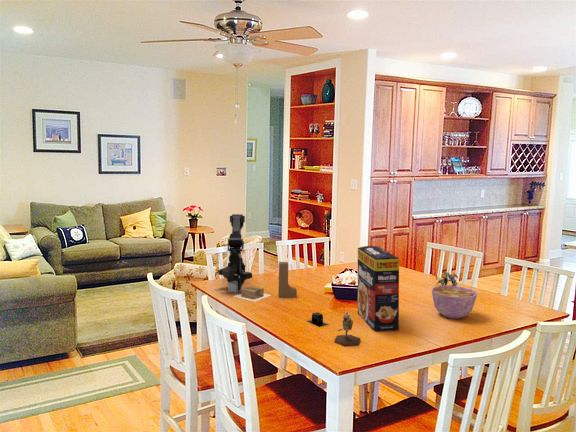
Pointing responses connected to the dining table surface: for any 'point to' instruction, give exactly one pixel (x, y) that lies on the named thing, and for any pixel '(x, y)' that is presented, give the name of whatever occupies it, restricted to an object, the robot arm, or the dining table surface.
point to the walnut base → (252, 292)
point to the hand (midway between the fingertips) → (235, 289)
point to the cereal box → (378, 288)
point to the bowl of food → (453, 300)
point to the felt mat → (251, 299)
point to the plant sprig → (447, 279)
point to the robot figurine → (346, 339)
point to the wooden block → (285, 283)
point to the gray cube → (233, 286)
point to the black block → (317, 320)
